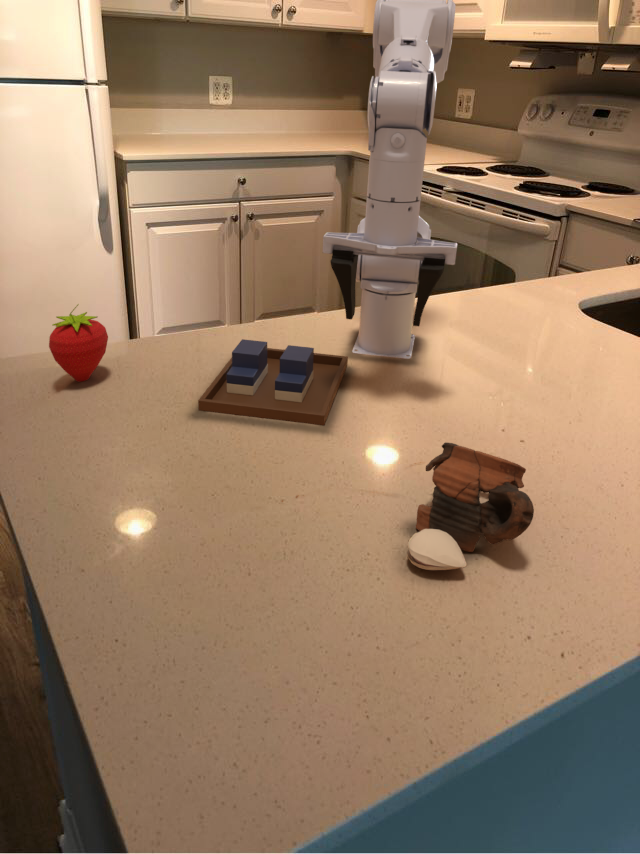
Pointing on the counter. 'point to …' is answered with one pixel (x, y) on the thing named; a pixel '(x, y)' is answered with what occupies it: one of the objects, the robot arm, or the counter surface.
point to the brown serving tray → (263, 401)
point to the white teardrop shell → (435, 551)
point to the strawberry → (78, 344)
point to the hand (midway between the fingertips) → (383, 319)
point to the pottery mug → (476, 497)
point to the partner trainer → (247, 367)
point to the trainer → (294, 373)
